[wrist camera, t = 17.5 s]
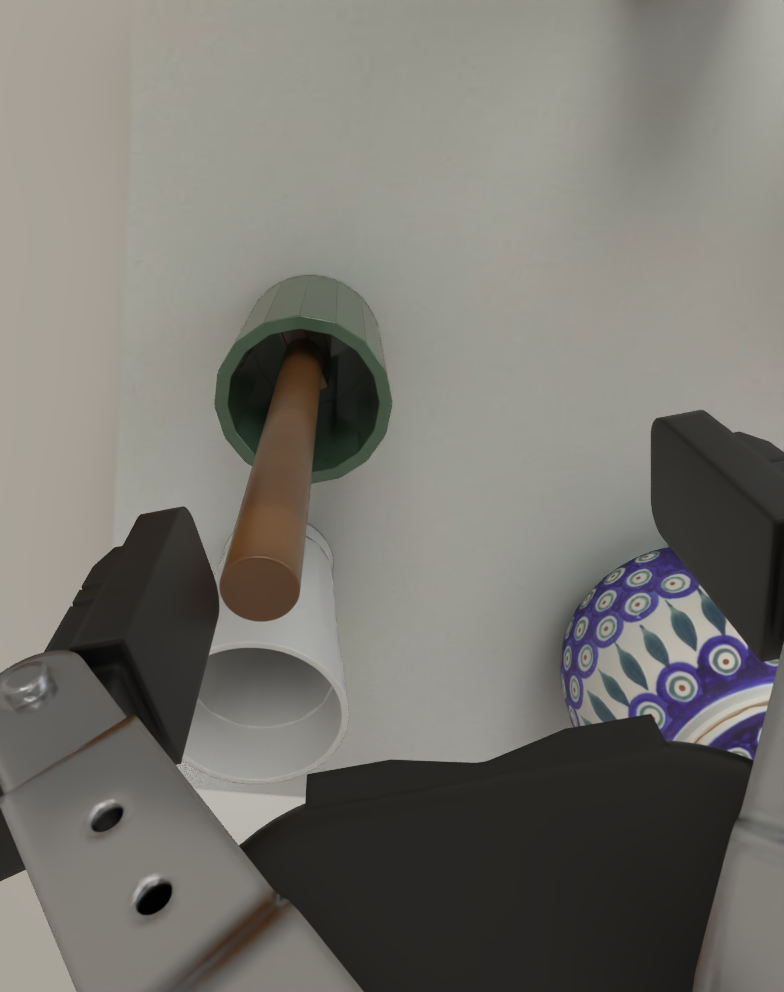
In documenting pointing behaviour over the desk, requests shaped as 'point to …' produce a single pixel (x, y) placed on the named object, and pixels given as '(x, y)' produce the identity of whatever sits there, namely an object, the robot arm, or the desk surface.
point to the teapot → (664, 659)
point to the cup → (273, 685)
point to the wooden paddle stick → (278, 489)
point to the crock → (352, 379)
